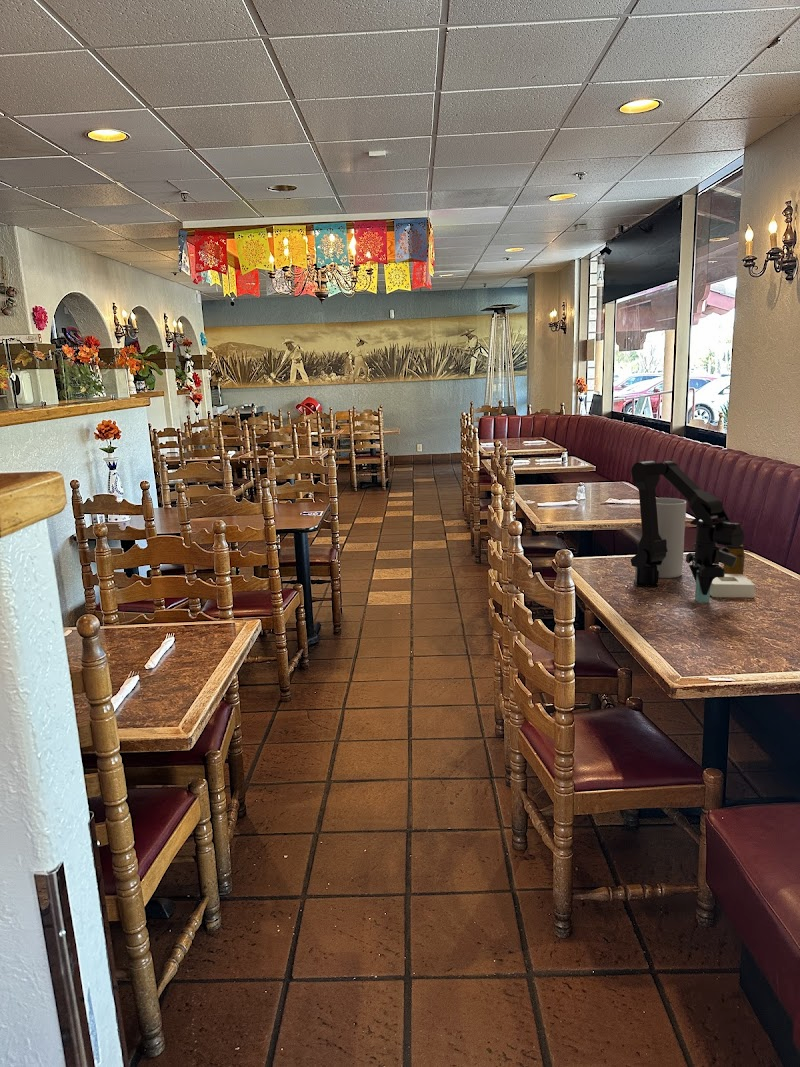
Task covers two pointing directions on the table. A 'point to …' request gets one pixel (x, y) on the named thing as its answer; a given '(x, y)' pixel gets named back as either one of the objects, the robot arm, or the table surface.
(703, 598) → the peg
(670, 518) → the cylinder vase
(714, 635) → the table surface
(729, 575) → the socket block
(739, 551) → the condiment
